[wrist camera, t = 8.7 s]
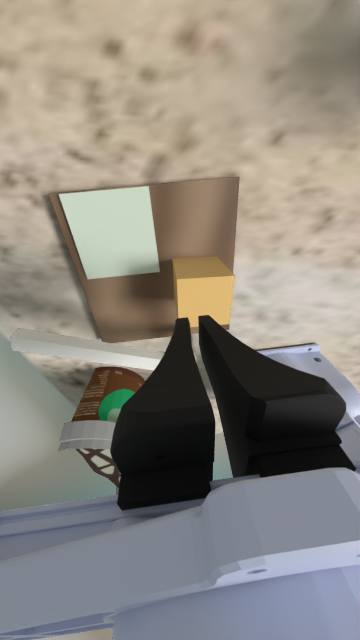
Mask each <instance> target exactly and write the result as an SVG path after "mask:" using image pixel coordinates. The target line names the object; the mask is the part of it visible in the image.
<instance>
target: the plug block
mask: <svg viewBox="0 0 360 640" xmlns="http://www.w3.org/2000/svg"><path fill="white" fill-rule="evenodd" d="M172 260H173V280H174V300H175V306H176V313H177V318H185V317H188V319H189V322H190V327H199V325H198V316H203V315H210V316H211V317H212V318H213V319H214V320H215V321H216V322H217V323H218V324H219V325H226V324H229V321H230V312H231V304H232V296H233V288H234V279H235V275H234V274H233V273H232V272H231V271H230V270H229V269H228V268H227V267H226V266H225V264H224V263H223V262H222V261H221V260H220V259H219V258H218V257H217V256H215V257H197V258H180V259H172Z"/></svg>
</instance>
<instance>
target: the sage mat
mask: <svg viewBox="0 0 360 640" xmlns="http://www.w3.org/2000/svg"><path fill="white" fill-rule="evenodd" d="M59 197H60V200H61V203H62V206H63V209H64V212H65V215H66V218H67V221H68V223H69V226H70V229H71V232H72V235H73V238H74V241H75V244H76V247H77V250H78V253H79V256H80V259H81V262H82V265H83V267H84V270H85V273H86V276H87V279H96V278H106V277H116V276H125V275H135V274H144V273H154V272H160V268H159V261H158V253H157V246H156V238H155V231H154V223H153V216H152V208H151V201H150V193H149V186H144V187H133V188H122V189H111V190H99V191H88V192H77V193H65V194H59Z"/></svg>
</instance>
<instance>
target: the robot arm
mask: <svg viewBox="0 0 360 640" xmlns="http://www.w3.org/2000/svg"><path fill="white" fill-rule="evenodd" d="M198 325H199V346H200V351H201V355H202V359H203V362H204V365H205V368H206V371H207V374H208V377H209V380H210V382H211V385H212V388H213V391H214V394H215V398H216V402H217V406H218V410H219V414H220V419H221V423H222V428H223V432H224V437H225V441H226V445H227V450H228V455H229V460H230V465H231V470H232V475H233V478H229V479H222V480H214V481H212V480H213V462H214V446H215V418H214V414H213V410H212V406H211V403H210V400H209V398H208V395H207V393H206V390H205V387H204V385H203V382H202V379H201V376H200V373H199V370H198V366H197V363H196V360H195V356H194V352H193V349H192V341H191V330H190V322H189V319H188V317H185V318H177V319H176V320H175V328H174V332H173V335H172V338H171V341H170V343H169V345H168V347H167V350H166V352H165V353H164V355H163V357H162V359H161V361H160V362H159V364H158V365H157V367H156V368H155V370H154V371H153V373H152V374H151V375H150V376H149V378H148V379H147V380H146V381H145V382H144V384H143V385H142V386H141V387H140V388H139V389H138V390H137V392H136V393H135V394H134V395H133V396H132V397H130V398H129V399H128V400H127V401H126V402H125V403H124V404H123V405H122V408H121V410H120V413H119V415H118V418H117V421H116V424H115V428H114V432H113V437H112V443H111V448H110V453H111V457H112V459H113V461H114V462H115V464H116V466H117V468H118V470H119V472H120V473H121V477H120V484H119V492H118V494H117V495H111V496H104V497H97V498H90V499H83V500H76V501H69V502H62V503H56V504H48V505H41V506H34V507H28V508H20V509H14V510H7V511H0V640H32V639H39V638H46V637H53V636H59V635H66V634H73V633H80V632H86V631H93V630H100V629H107V628H113V627H114V628H113V637H112V640H360V428H359V427H360V393H359V392H358V390H357V389H356V388H355V386H354V385H353V384H352V383H351V382H350V381H349V380H348V379H347V378H346V377H345V376H344V375H343V374H342V373H341V372H340V371H339V370H338V369H337V368H336V367H335V366H334V365H333V364H332V363H331V362H330V361H329V360H327V359H326V358H325V357H324V356H323V355H322V354H321V353H320V352H319V351H320V348H321V346H320V345H319V344H311V345H303V346H295V347H286V348H278V349H270V350H262V351H255V350H254V349H252V348H250V347H249V346H247V345H245V344H244V343H242V342H241V341H239V340H238V339H237V338H235V337H234V336H232V335H231V334H230V333H229V332H228V331H226V330H225V329H224V328H223V327H222V326H220V325H219V324H218V323H217V322H216V321H215V320H214V319H213V318H212V317H211V316H210V315H203V316H198Z"/></svg>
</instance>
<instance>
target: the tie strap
mask: <svg viewBox="0 0 360 640" xmlns="http://www.w3.org/2000/svg"><path fill="white" fill-rule="evenodd" d="M10 340H11V346H12V350H13V351H20V352H28V353H35V354H42V355H49V356H56V357H63V358H70V359H77V360H84V361H91V362H98V363H105V364H112V365H120V366H127V367H134V368H141V369H148V370H155V368H156V367H157V365H158V364H159V362H160V361H161V359H162V357H163V355H164V353H165V352H161V351H155V350H149V349H143V348H137V347H131V346H125V345H119V344H113V343H107V342H100V341H94V340H88V339H82V338H76V337H70V336H64V335H58V334H52V333H46V332H40V331H34V330H28V329H21V328H18V329H17V330H16V331H15V332H14V333H13V334H12V335H11V336H10ZM194 356H195V353H194ZM195 360H196V357H195ZM196 363H197V362H196Z"/></svg>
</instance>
